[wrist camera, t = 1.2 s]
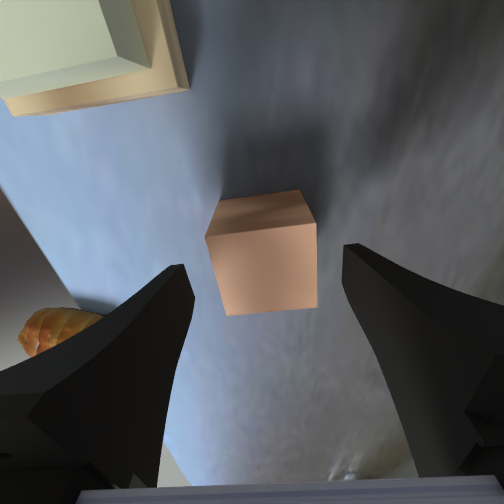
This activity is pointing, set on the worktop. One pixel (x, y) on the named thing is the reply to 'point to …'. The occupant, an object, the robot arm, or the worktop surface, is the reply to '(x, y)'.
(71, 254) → the worktop surface
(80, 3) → the sage slab
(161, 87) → the oak slab
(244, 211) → the terracotta cube
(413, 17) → the worktop surface
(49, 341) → the pastry
